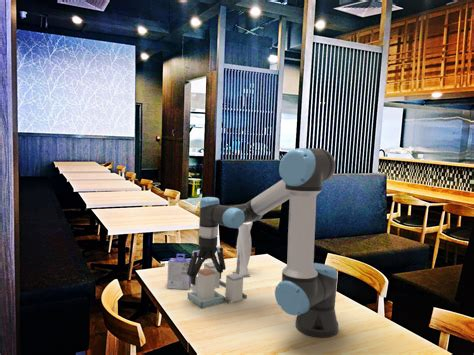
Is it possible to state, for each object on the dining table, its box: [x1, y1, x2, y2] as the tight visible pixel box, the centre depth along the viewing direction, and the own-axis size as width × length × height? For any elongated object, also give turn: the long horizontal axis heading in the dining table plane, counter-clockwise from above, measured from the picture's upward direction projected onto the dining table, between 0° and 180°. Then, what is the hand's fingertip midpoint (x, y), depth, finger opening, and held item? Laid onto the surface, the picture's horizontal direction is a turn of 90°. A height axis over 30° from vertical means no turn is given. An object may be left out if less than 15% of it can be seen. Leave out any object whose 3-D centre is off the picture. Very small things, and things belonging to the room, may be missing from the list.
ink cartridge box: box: [166, 253, 192, 290], centre depth 178 cm, size 10×6×14 cm, turn 89°
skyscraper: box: [231, 221, 254, 278], centre depth 197 cm, size 8×8×28 cm
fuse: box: [197, 268, 216, 301], centre depth 165 cm, size 5×5×12 cm
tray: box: [187, 290, 225, 309], centre depth 165 cm, size 11×11×2 cm
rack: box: [203, 261, 248, 305], centre depth 175 cm, size 22×10×10 cm, turn 37°
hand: (205, 289), depth 165 cm, fingers open, 10 cm apart
